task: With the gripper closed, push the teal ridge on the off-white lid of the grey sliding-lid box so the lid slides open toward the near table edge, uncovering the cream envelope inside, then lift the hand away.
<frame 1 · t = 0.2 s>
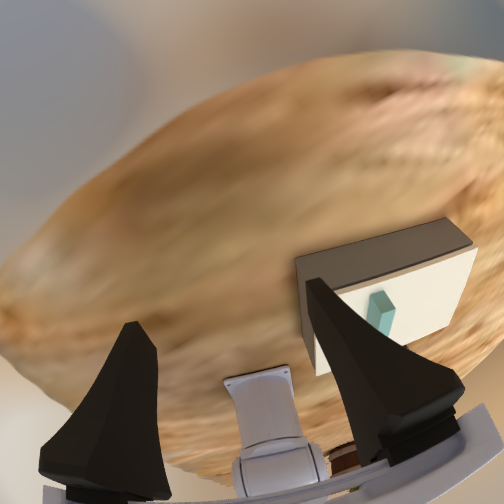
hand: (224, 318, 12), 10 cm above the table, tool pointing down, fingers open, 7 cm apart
lid: (403, 323, 23), point 6 cm above the table, slide at 0.0 cm
grey sliding-lid box: (376, 281, 27), on the table
flowerpot: (345, 446, 71), on the table
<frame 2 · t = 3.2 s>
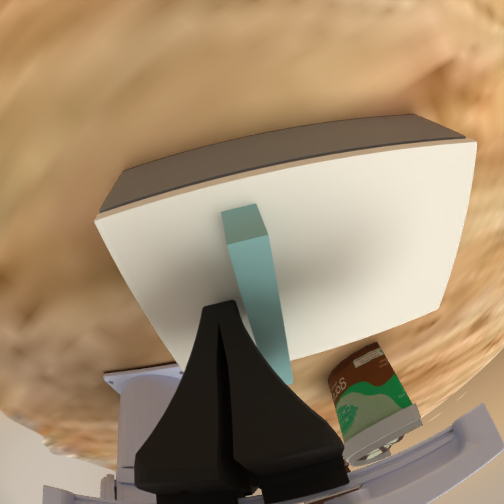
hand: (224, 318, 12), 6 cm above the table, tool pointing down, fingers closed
lid: (333, 293, 12), point 6 cm above the table, slide at 0.0 cm, touching gripper
grey sliding-lid box: (295, 224, 17), on the table
flowerpot: (323, 462, 59), on the table
food container: (344, 373, 29), on the table
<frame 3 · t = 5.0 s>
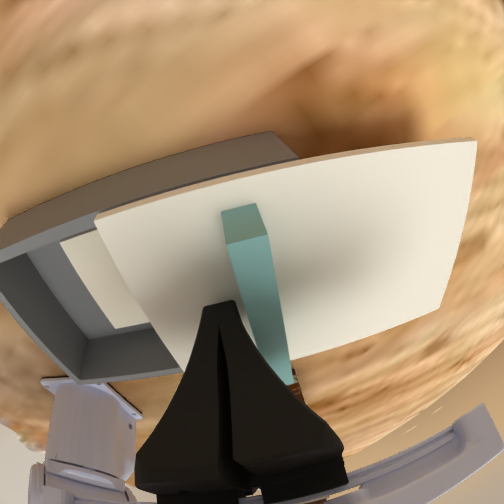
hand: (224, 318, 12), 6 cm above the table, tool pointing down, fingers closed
lid: (333, 293, 12), point 6 cm above the table, slide at 8.5 cm, touching gripper
grey sliding-lid box: (150, 260, 17), on the table
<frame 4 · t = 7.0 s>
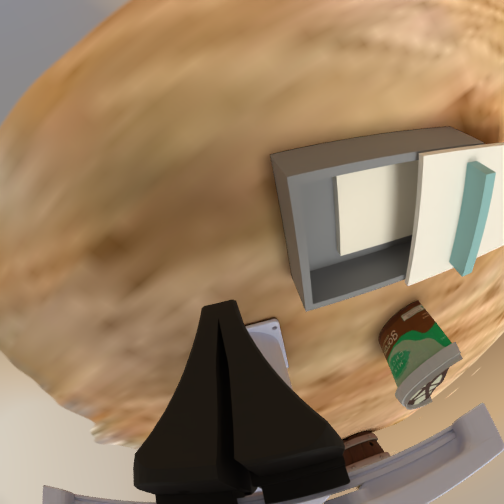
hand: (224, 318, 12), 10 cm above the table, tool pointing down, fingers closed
lid: (491, 212, 18), point 6 cm above the table, slide at 8.6 cm
grey sliding-lid box: (376, 199, 22), on the table
flowerpot: (353, 437, 65), on the table
food container: (390, 330, 35), on the table
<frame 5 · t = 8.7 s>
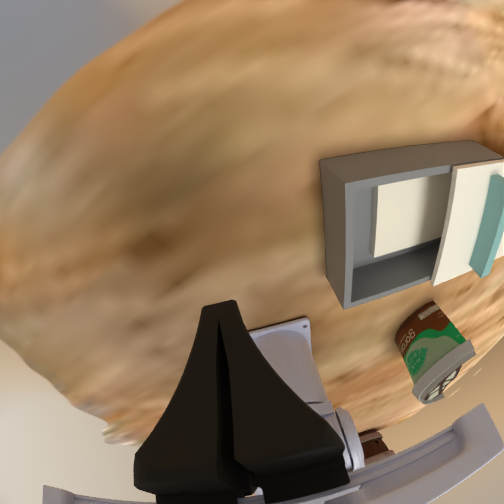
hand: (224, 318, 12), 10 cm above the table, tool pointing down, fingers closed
grey sliding-lid box: (406, 205, 23), on the table
flowerpot: (358, 436, 66), on the table
food container: (406, 329, 35), on the table
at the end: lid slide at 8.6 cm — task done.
